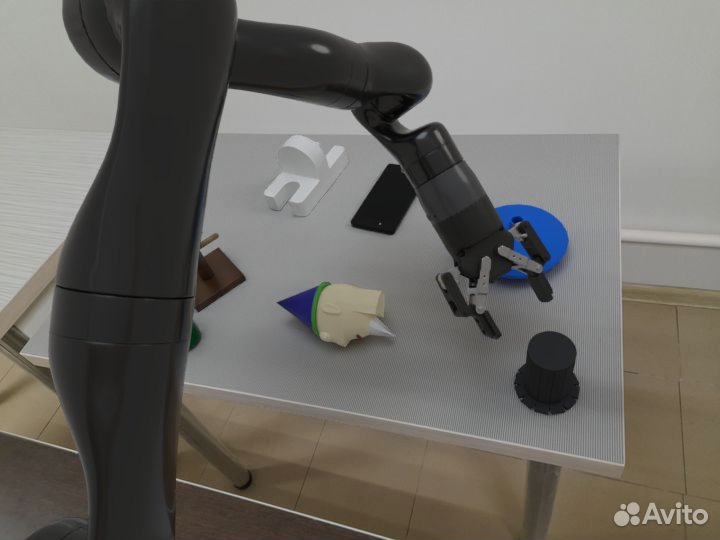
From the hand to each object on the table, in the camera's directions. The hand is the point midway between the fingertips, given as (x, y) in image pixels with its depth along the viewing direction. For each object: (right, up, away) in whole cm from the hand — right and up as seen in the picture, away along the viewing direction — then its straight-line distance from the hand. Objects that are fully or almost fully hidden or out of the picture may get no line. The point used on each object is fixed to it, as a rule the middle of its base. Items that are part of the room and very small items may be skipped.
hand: (522, 318), depth 65 cm
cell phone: (-14, +20, +35) cm, 43 cm away
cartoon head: (-23, -3, +17) cm, 29 cm away
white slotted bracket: (-31, +24, +43) cm, 58 cm away
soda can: (-49, -6, +22) cm, 54 cm away
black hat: (+5, -9, +5) cm, 11 cm away
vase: (+5, +9, +21) cm, 24 cm away
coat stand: (-47, +4, +30) cm, 56 cm away
